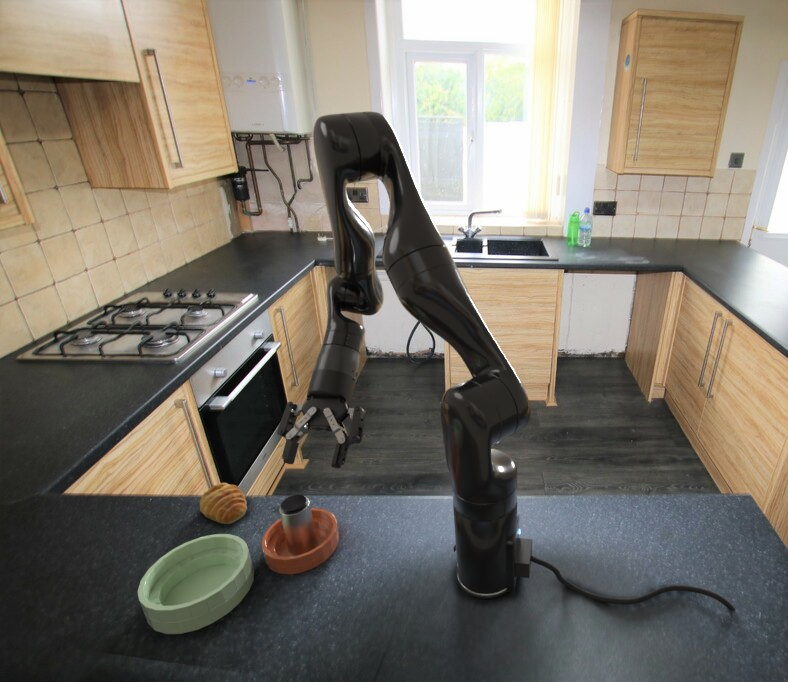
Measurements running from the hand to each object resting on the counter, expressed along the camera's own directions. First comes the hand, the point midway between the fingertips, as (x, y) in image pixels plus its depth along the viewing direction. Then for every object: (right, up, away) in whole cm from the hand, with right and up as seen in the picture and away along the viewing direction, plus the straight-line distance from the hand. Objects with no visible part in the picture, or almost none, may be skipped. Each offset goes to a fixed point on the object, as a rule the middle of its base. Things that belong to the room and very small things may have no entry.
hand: (311, 465), depth 79 cm
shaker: (-1, -13, -2) cm, 13 cm away
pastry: (-19, -10, +8) cm, 23 cm away
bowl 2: (-1, -13, -1) cm, 13 cm away
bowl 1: (-12, -17, -9) cm, 22 cm away
